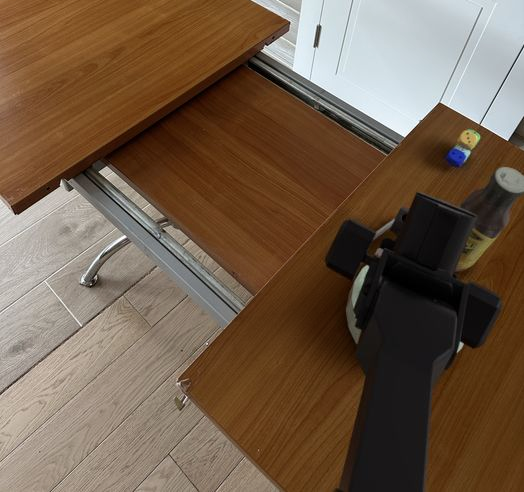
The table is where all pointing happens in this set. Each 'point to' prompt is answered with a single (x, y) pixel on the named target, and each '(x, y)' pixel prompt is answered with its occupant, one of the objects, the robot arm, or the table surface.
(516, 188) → the sauce bottle
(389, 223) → the knife
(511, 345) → the table surface
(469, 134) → the dice
